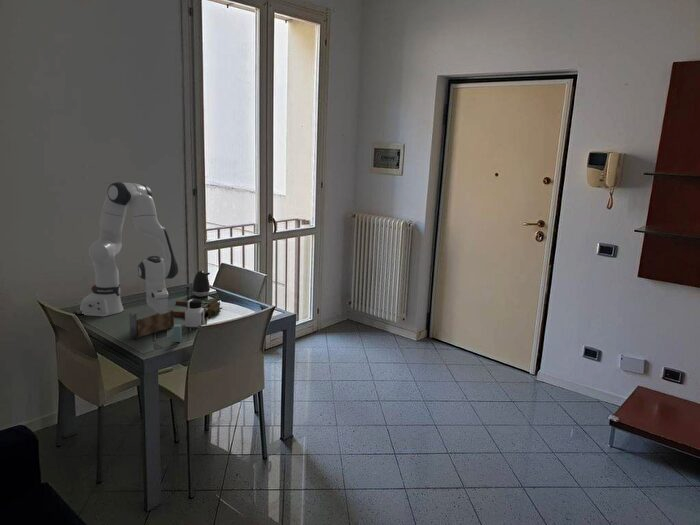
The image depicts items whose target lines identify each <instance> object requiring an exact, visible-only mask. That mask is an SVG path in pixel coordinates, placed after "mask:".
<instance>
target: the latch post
mask: <svg viewBox="0 0 700 525" xmlns="http://www.w3.org/2000/svg"><path fill="white" fill-rule="evenodd" d="M172 328H173V343H174V342H181V343H182V341H183V336H182V335H183V334H182V333H183V332H182V323H177V324H176V323H174V326H173V327H172ZM181 340H182V341H181Z"/></svg>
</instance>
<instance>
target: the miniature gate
mask: <svg viewBox="0 0 700 525" xmlns="http://www.w3.org/2000/svg"><path fill="white" fill-rule="evenodd" d="M175 305H176V306H177V305H179V306H185V307H188V300H187V301H185V300H176V301H175ZM201 308H204V317H205V316H206V314H208V319H209V320H210V319H211V318H212V317H213V316H215V315H216V314H218V313H219V312H221V310H223V307H221V301H219V297H217V298H215V299H213V300H212V301H210V302H209V301H208V302H207V301H201ZM185 312H186V311H180V310H179V311H178V310H173V313H174V317H185Z"/></svg>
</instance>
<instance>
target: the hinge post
mask: <svg viewBox="0 0 700 525" xmlns="http://www.w3.org/2000/svg"><path fill="white" fill-rule="evenodd" d="M128 317H129V338H130V339H129V340H130V341H131V340H135V341H137V340H138V337H137V320H138V319H137V313H130V314H129V315H128Z"/></svg>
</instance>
